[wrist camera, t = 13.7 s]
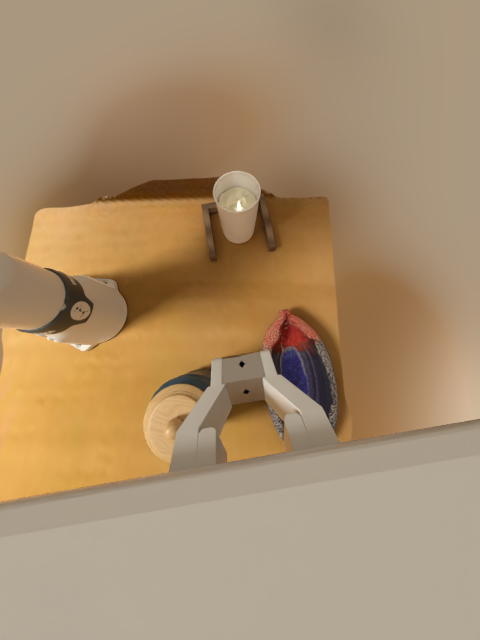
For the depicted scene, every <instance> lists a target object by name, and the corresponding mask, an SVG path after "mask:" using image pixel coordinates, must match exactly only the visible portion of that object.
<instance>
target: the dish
mask: <svg viewBox="0 0 480 640" xmlns="http://www.w3.org/2000/svg"><path fill="white" fill-rule="evenodd" d="M290 312H291V311H290V310H287V309H286V310H281V311H279V314H280V316H279V317H278V318H277V319H276V321H275V322H274V323H273V324H272V325H271V327H270V328H269V330H268V332H267V334H266V336H265V339H264V342H263V346H262V351H263V350H269V351H270V354H271V357H272V360H273V363H274V366H275V369H276V372H277V375H280V374H281V375H282V376H283V377H284V378H286V379H287V380H288V381H289V382H291V383H292V384H293V385H295V386H296V387H297V388H298V389H300V390H301V391H302V392H303V393H305V394H306V395H307V396H309V397H310V398H311V399H312V400H314V401H315V402H316V403H317V404H319V405H320V406H321V407H322V408H323V410H324V412H325V414H326V416H327V418H328V420H329V422H330V424H331V426H332V428H333V430H334V431H335V427H336V422H337V414H338V394H337V385H336V379H335V374H334V370H333V366H332V363H331V360H330V357H329V354H328V351H327V349H326V347H325V345H324V343H323V341H322V339H321V338H320V336H319V335H318V333H317V332H316V331H315V330H314V329H313V328H312V327H311V326H310V325H308V324H307V323H306V322H305V321H303V320H302V319H301V318H300V317H298V316H296V315H293V314H291V313H290ZM267 406H268V409H269V413H270V416H271V418H272V421H273V423H274V426H275V428H276V430H277V432H278V434H279V436H280V437H281V439H282V440H283V442H284V421H283V420H282V419H281V418H280V417H279V416H278V415H277V413H276V412H275V411H274V410H273V409H272V408H271V407H270V405H269V404H268V403H267Z"/></svg>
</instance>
